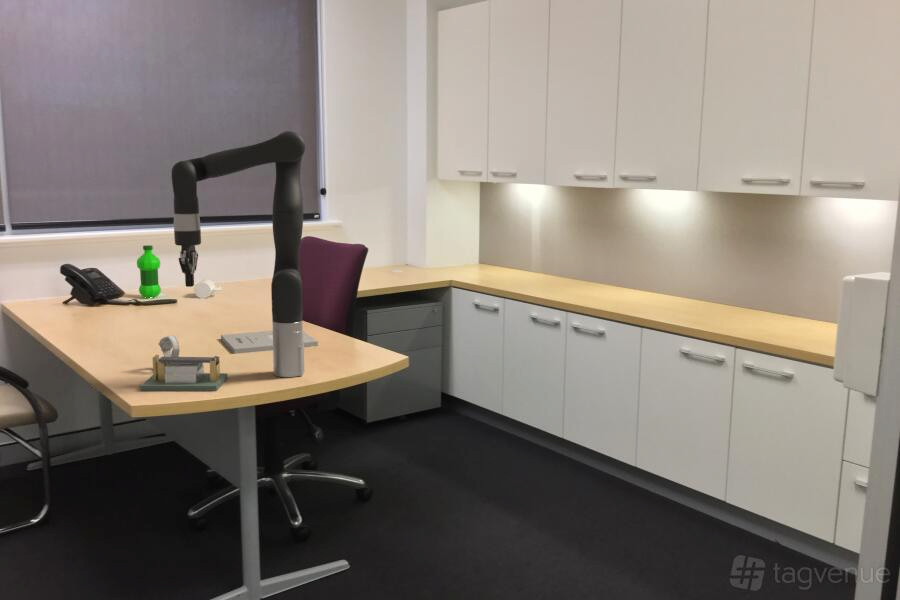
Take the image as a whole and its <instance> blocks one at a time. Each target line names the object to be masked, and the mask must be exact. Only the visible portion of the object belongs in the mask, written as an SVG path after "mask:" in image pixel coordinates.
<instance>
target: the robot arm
mask: <svg viewBox="0 0 900 600" xmlns="http://www.w3.org/2000/svg"><path fill="white" fill-rule="evenodd" d="M305 152H306V142H305V140H304V139H303V137H302V136H301V135H300V134H299V133H297V132H295V131H292V130H288V131H287V130H286V131H283V132H281V133H279V134H278V135H276V136H274V137H272V138H270V139H268V140H264V141H261V142H259V143H254V144H251V145H246V146H241V147H235V148H231V149H230V148H229V149H226V150H225V149H224V150H221V151H217V152H213V153H210V154H207V155H204V156H202V157H197V158H191V159H185V160H181V161H178V162H176V163H175V164H174V165H173V166H172V169H171V185H172V193H173V213H174V214H173V235H174V238H173V239H174V245H176V246H181V249H180V251H179V257H178V263H179V266H180V269H181V273H182V274H184V279H185V280H184V283H185V286H186V287H188V288H191V287H195V275H194V274H195V273H196V271H197V266H198V258H199V253H198V251H197V250H196V246H199V245H201V244H202V236H201V235H202V231H201V220H200V207H199V197H198V192H197V190H198V188H197V185H198V184H197V183H198V182H201V181H206V180H207V179H214V178H215V179H216V178H220V177H223V176H228V175H231V174H235V173H239V172H242V171H244V170H249V169H251V168H255V167H258V166H262V165H267V164H273V163H274V164H275V183H274V184H275V185H274V191H273V200H272V235H273V243H274V249H275V254H274V255H275V257H274V259H275V260H274V268H273V274H272V275H273V276H272V279H271V285H270V286H271V288H270V291H271V292H270V293H271V294H270V295H271V317H272V318H271V319H272V331H273V350H272V354H273V356H272V357H273V359H272V360H273V375H274V376H276V377H279V378H296V377H303V375H304V373H305V347H304V342H303V332H304V330H303V327H304V326H303V283H302V277H301V269H300V268H301V267H300V248H301V243H302V242H301V241H302V235H303V228H304V227H303V226H304V200H303V192H302V186H301V169H302V160H303V159H302V158H303V156H304V154H305Z"/></svg>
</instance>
